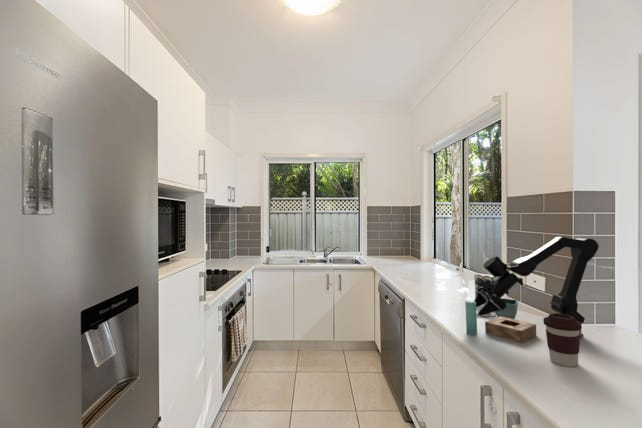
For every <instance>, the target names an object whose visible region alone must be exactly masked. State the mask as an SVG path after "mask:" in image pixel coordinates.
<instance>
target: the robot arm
mask: <svg viewBox="0 0 642 428" xmlns="http://www.w3.org/2000/svg"><path fill="white" fill-rule="evenodd" d="M599 247H600V246H599V243H598V242H597V241H596V240H595V239H593V238H588V237H587V238H586V237H585V238H584V237H576V238H570V237H568V238H567V237H565V236H556V237H554V238H553V239H551V240H550V241H549V242H547V243H546V244H544V245H542V246H541V247H540V248H538V249H536V250H535V251H533V252H532V253H530V254H529V255H526V256H521V257H519V258H517V259H514V260H513V261H511V262H509V263H508V262H507V263H505V262H504V261H503V260H501V259H500V257H499V256H497V255H495V256H493V257H491V258H490V259H488V260H486V261H484V264H483V266H482V267H483V268H484V269H485V270H486V271H487V272H488V273H489V274H490V275H493V276H494V277H497V276H498V279H497V280H496V281H494V280H493V281H490V280H488V279H485V280H484V279H481V278H479V277H477V279H476V281H475V280H474V285H475V284H477V285H478V287H477V288H476V290H477V291H476V298H474V300H473V301H474V302H476V307H478V306H481V305H483V304H485V303H486V304H485V305H484V306H483V308H482V309H481V310H480V311H479V313H478V314H479V315H478V316H479V317H482V316H481V315H485V314H488V313H491V312H494V313H496V312H495V311H500V309H501V310H504V309H505V308H506V303H505V302H504V301H503V300H501V299H500V298H503V296H505V295H509V294H510V292H509V291H510V290H511V289H512V288H513V287H514V286H515V285H516V284H518V285H520V286H524V281H523V280H524V278H522V277H528V276H530V275H531V274H532V273H533V272H534V271H536V269H537V267H538V265H540V263H542V262H544V261H546V260H547V259H549V258H550V257H552V256H554V255H555V254H556V253H558V252H559V251H561V250H562V249H564V248H569V249H570V253H571V261H570V263H569V266H568V270H567V273H566V276H565V279H564V282H563V285H562V287H561V291H560V292H559V293H558V294H555V293H553V294H552V298H551V301H550V302H549V304H550V307H551V310H552V311H553V312H554V313H559V314H566V315H570V316H573V317H574V318H575V319H576V321H578V322H580V323H581V324H584V323H585V319H586V318H585V317H584V316H583V315H582V314H581V313H580V312H578V300H577V299H578V298H577V296H578V292H579V289H580V285H581V283H582V280H583V277H584V275H585V271H586V268H587V265H588V263H589V262H590V260H592V259H593V258H594V257H595V256H596V254H597V252H598V250H599ZM510 272H511V273H510ZM517 275H518V276H517ZM519 276H521V277H519ZM499 308H500V309H499ZM579 334H580V339H581V338H582V337H583V336H584V334H583V333H582V329H581V330H579Z"/></svg>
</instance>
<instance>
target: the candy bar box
mask: <svg viewBox="0 0 642 428" xmlns="http://www.w3.org/2000/svg"><path fill="white" fill-rule="evenodd" d="M473 276H474V282H475V281H476V279H477V277H479V278H481V279H484V280H485V279H488V280H490V281H493V280H494V281H496V280H497V279H498V278H499V277H498V276H497V277H494V276H493V275H492V274H487V273H486V274H485V273H479V272H478V273H474V275H473ZM477 287H478V285H477V284H475V283H474V292H475V293H474V294H475V296H474V297H475V298H476V291H477V290H476V288H477ZM475 298H474V299H475Z"/></svg>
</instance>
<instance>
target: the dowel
mask: <svg viewBox="0 0 642 428" xmlns="http://www.w3.org/2000/svg"><path fill="white" fill-rule="evenodd" d="M464 305H465V326H466V334H467V335H469V336H478V321H477V319H478V318H477V316H478V315H476V310H477V309H476V302H474V300H466V301H465V303H464Z"/></svg>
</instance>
